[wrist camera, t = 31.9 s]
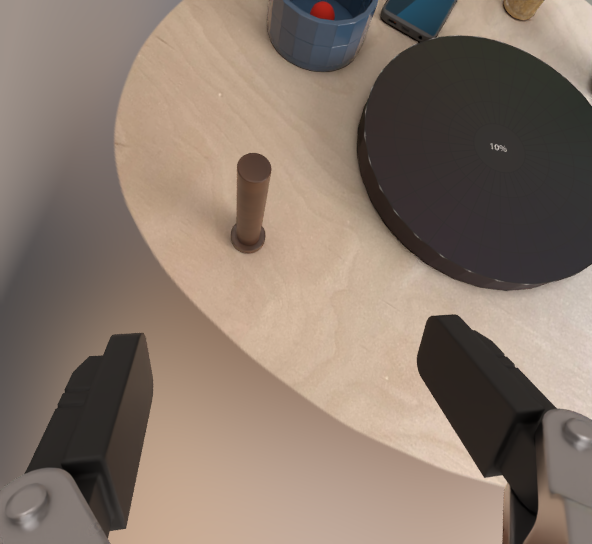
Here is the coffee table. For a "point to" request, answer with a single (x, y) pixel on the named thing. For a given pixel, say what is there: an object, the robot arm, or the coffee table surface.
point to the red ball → (323, 11)
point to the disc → (481, 162)
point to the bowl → (319, 32)
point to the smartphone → (417, 16)
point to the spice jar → (522, 8)
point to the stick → (251, 202)
